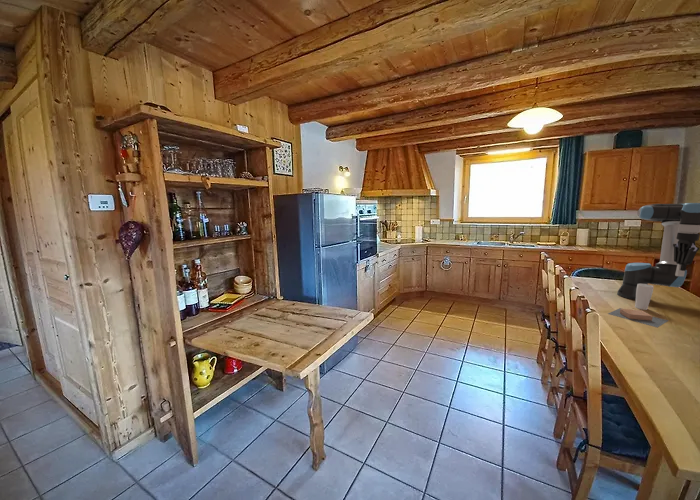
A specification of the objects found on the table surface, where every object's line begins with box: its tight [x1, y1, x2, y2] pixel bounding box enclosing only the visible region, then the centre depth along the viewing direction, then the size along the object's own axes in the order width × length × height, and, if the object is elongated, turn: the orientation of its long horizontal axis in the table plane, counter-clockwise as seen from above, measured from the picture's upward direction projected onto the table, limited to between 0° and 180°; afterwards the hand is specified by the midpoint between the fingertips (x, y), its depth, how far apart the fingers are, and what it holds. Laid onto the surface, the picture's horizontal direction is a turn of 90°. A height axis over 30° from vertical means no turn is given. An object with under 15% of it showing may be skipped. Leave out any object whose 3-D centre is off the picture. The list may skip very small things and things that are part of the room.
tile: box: [620, 308, 654, 321], centre depth 154 cm, size 3×8×10 cm
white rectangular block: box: [634, 284, 654, 311], centre depth 166 cm, size 7×7×15 cm
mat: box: [607, 308, 669, 328], centre depth 155 cm, size 17×20×1 cm
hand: (679, 275), depth 150 cm, fingers closed
